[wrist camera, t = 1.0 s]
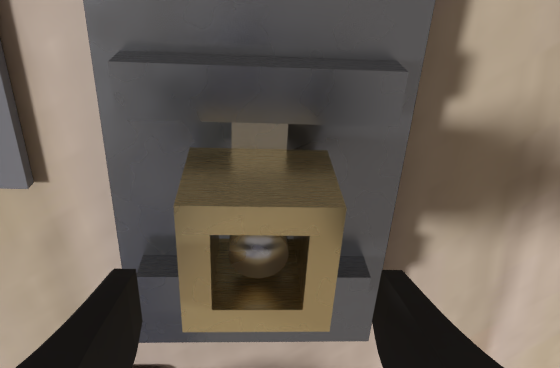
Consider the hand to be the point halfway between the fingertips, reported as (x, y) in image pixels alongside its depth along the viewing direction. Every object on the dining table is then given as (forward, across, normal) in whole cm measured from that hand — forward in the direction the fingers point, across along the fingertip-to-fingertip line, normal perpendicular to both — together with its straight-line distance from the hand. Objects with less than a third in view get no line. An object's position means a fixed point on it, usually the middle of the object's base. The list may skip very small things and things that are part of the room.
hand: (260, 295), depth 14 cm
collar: (+5, 0, 0) cm, 5 cm away
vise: (+9, 0, -1) cm, 9 cm away
